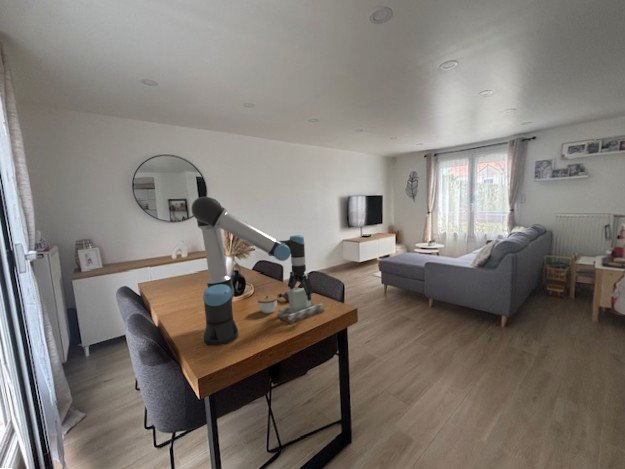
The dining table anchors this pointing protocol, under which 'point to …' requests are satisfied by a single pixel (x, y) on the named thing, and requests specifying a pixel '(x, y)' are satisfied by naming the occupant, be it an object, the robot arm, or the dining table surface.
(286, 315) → the grey bumpy tray
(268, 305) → the lidded jar
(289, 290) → the decorative duck model
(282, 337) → the dining table surface
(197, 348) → the dining table surface
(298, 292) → the pale green square block
